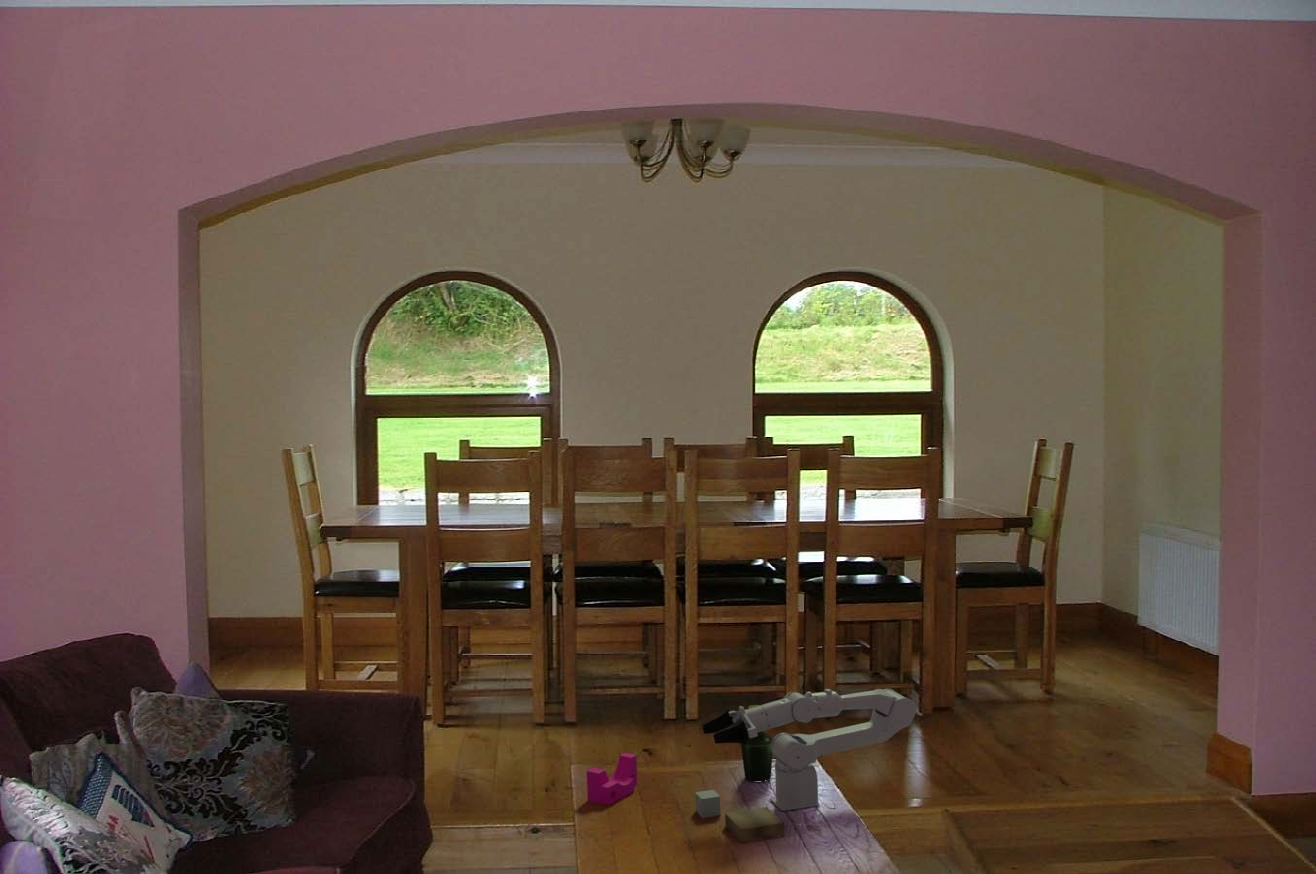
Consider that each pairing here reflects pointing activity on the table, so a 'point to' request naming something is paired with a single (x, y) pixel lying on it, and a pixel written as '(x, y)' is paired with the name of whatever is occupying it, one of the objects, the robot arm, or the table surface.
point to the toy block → (612, 781)
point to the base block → (754, 824)
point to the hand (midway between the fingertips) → (708, 734)
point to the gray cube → (707, 803)
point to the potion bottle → (757, 756)
